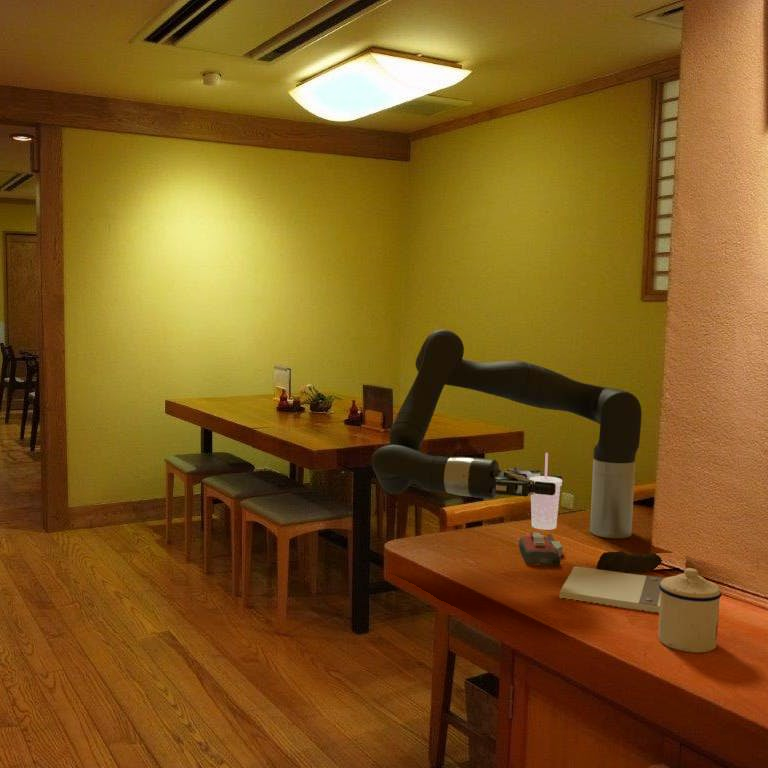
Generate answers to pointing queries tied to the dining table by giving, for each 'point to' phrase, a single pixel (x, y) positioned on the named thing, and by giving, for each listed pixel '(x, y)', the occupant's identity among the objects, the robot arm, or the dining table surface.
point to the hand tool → (628, 562)
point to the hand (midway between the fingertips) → (558, 485)
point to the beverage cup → (545, 503)
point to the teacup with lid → (689, 612)
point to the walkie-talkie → (540, 549)
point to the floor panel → (613, 588)
